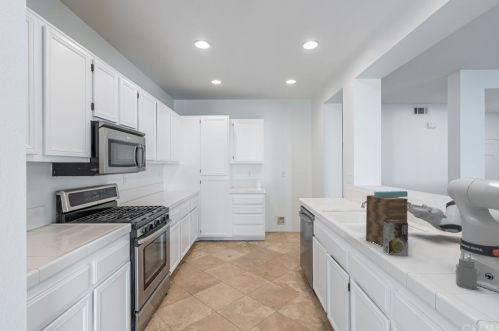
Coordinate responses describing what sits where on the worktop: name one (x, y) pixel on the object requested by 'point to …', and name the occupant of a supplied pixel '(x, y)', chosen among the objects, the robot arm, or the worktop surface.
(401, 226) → the coffee box
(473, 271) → the power adapter
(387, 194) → the teal bar
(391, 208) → the walnut stand
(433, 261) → the worktop surface
